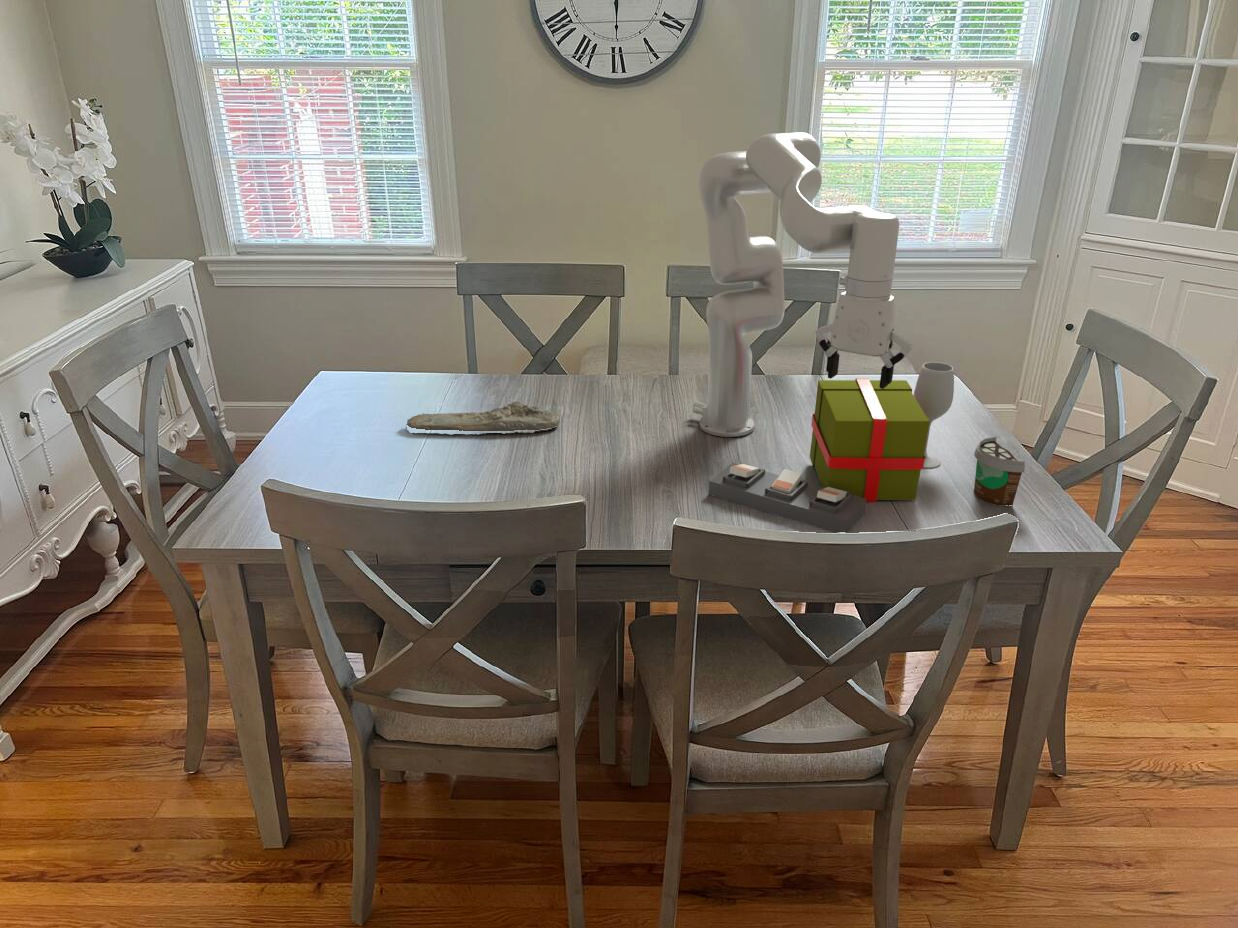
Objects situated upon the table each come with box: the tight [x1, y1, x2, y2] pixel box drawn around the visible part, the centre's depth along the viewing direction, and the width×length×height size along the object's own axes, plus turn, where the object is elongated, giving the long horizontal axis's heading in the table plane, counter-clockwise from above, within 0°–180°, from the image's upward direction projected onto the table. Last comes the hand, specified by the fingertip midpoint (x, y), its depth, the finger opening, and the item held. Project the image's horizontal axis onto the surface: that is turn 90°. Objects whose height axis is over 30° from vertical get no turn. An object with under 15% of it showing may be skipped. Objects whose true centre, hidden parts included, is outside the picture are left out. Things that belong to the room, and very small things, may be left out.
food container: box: [973, 436, 1026, 507], centre depth 170 cm, size 12×6×10 cm, turn 5°
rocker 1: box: [729, 463, 760, 477], centre depth 172 cm, size 4×6×1 cm, turn 146°
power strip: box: [708, 462, 867, 533], centre depth 169 cm, size 28×10×4 cm, turn 56°
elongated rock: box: [406, 401, 561, 431], centre depth 202 cm, size 35×5×10 cm
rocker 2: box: [772, 468, 803, 494], centre depth 167 cm, size 4×6×1 cm, turn 146°
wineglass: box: [913, 361, 955, 469], centre depth 182 cm, size 8×8×21 cm
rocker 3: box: [817, 487, 847, 502], centre depth 163 cm, size 4×6×1 cm, turn 146°
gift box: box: [809, 377, 930, 503], centre depth 176 cm, size 21×21×25 cm
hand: (857, 381), depth 159 cm, fingers open, 9 cm apart
